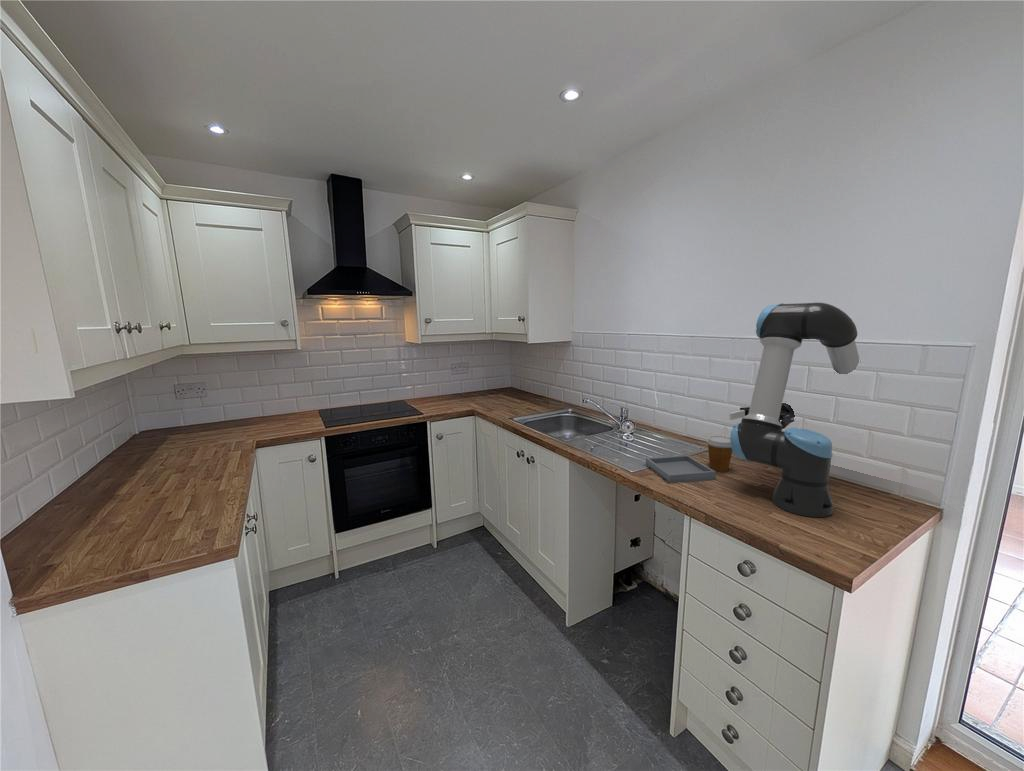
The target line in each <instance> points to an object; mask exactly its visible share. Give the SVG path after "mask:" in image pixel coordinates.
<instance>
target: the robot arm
mask: <svg viewBox="0 0 1024 771" xmlns="http://www.w3.org/2000/svg"><path fill="white" fill-rule="evenodd" d="M856 326H857V325H856V324H855V322H854V321H853V319H852V318H851V317H850V316H849V315H848V314H847V313H846V312H845V311H843V310H842V309H840V308H838V307H836V306H834V305H832V304H829V303H825V302H805V303H804V302H802V303H801V302H800V303H799V302H798V303H778V304H770V305H767V306H766V307H765V308H763V309H762V310H761V312H760V313H759V315H758V318H757V320H756V325H755V327H756V329H755V334H756V336H757V337H758V338H759V339H760V340H759V342H760V343H761V345H762V347H763V349H762V353H761V359H760V361H759V367H758V369H757V370H758V371H757V374H756V378H755V379H756V381H755V385H754V388H753V393H752V397H751V402H750V406H749V407H748V406H747V407H746V406H745V407H740V408H739V410H736V411H733V412H729V420H730V421H732V420H737V419H741V421H740V422H738V423H735V424H734V425H733V427H732V428H731V431H730V437H729V438H730V443H731V448H732V454H733V455H735V457H737V458H738V459H741V460H745V461H747V462H749V463H751V462H752V463H757V464H760V465H763V466H764V465H765V466H767V467H768V466H769V467H772V468H777V469H781V476H780V479H779V481H778V483H777V484H776V487H775V488H774V490H773V493H772V503H773V504H774V505H776V506H777V507H778V508H780V509H782V510H784V511H786V512H789V513H791V514H796V515H799V516H804V517H810V518H825V517H826V518H827V517H829V516H831V515H832V514H833V512H834V503H833V499H832V496H831V492H830V489H829V479H830V472H831V471H830V470H831V463H832V457H833V453H832V452H833V442H832V440H831V439H830V438H828V437H827V436H826V435H824V434H822V433H820V432H817V431H813V430H810V429H805V428H799V427H798V428H797V427H789V428H787V427H788V426H789V425H790V424H791V423H794V422H795V420H794V417H795V415H794V411H793V409H792V408H791V406H790V405H788V404H786V403H782V402H783V400H784V397H785V392H786V388H787V383H788V379H789V375H790V370H791V366H792V361H793V358H794V352H795V350H797V349H798V348H800V347H801V346H802V342H803V340H817V341H819V342H820V344H821V345H823V346H824V347H825V349H826V351H827V354H828V357H829V360H830V363H831V366H832V368H833V371H834V370H835V371H836V372H837V373H839V374H848V373H850V372H852V371H853V370H855V369H856V367H857V365H858V363H859V359H860V355H859V351H858V346H857V343H856V339H857V337H858V330H857V327H856ZM780 420H782V421H780ZM786 428H787V429H786ZM783 429H784V430H785V431H784V430H783Z"/></svg>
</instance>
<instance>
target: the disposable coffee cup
mask: <svg viewBox="0 0 1024 771" xmlns="http://www.w3.org/2000/svg"><path fill="white" fill-rule="evenodd" d="M706 444H707V446H708V448H707V449H708V459H709V461H708V462H709V468H711V469H712V470H714V471H716V472H718V473H719V472H720V473H724V472H726V473H727V472H728V471H729V467H730V464H731V463H730V462H731V459H732V454H733V451H732V448H731V443H730V437H728V436H721V435H711V436H709V437H708V439H706Z"/></svg>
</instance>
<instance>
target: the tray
mask: <svg viewBox="0 0 1024 771" xmlns="http://www.w3.org/2000/svg"><path fill="white" fill-rule="evenodd" d="M646 465H647V466H649V467H650V468H649V469H650V470H651V469H652V470H653V471H652V470H651V471H652V472H653V473H655V474H656V473H657V474H658V475H657V474H656V475H657V476H658V477H660V476H661V477H662V478H661V477H660V478H661V479H662V480H664V479H665V480H666V481H667V483H668V482H669V483H668V484H677V482H681V483H687V482H688V483H689V482H690V483H692V482H693V483H694V482H701V481H702V482H704V481H715V480H717V471H714V470H712V469H711V468H710V466H707V465H706V464H704V463H702V462H700V461H699V460H697V459H695V458H694V457H692V456H690V455H688V454H687V455H685V454H684V455H672V456H671V455H670V456H659V457H658V456H657V457H646V458H645V466H646ZM647 466H646V467H647ZM665 480H664V481H665ZM666 481H665V482H666Z"/></svg>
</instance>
